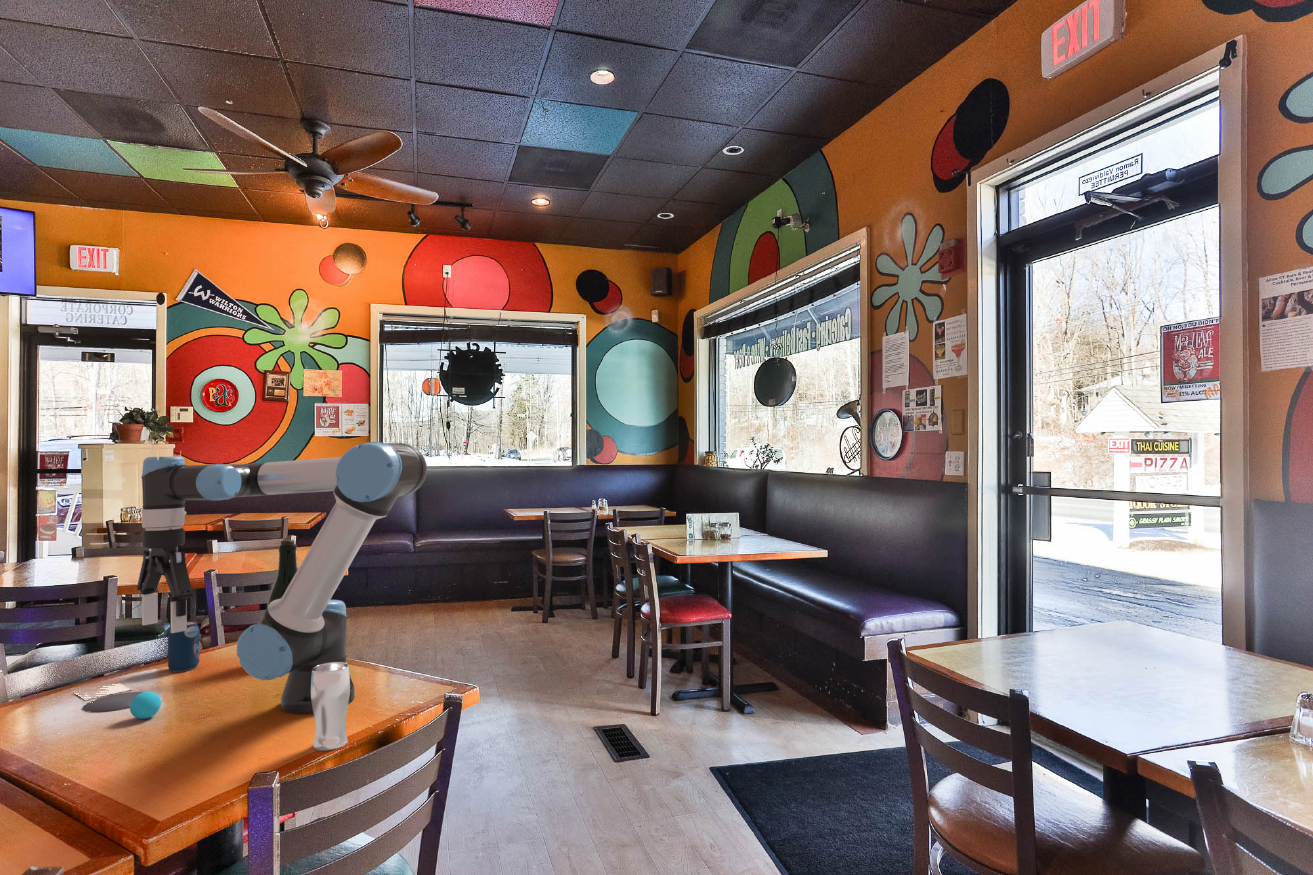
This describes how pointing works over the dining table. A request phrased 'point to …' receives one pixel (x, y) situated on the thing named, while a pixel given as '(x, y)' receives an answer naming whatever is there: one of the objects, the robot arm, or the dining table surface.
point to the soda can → (184, 648)
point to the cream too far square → (110, 690)
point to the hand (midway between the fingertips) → (164, 627)
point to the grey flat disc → (111, 702)
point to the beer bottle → (284, 569)
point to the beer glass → (330, 704)
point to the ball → (145, 705)
